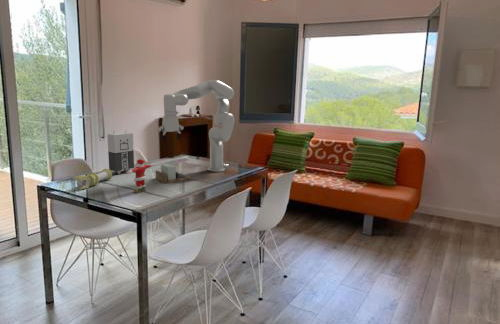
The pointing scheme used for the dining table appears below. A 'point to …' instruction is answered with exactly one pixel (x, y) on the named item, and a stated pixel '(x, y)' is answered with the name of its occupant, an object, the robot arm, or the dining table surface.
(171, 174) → the pale green block
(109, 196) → the dining table surface
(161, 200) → the dining table surface
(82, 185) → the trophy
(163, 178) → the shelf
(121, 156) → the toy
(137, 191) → the santa figurine
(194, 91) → the robot arm
